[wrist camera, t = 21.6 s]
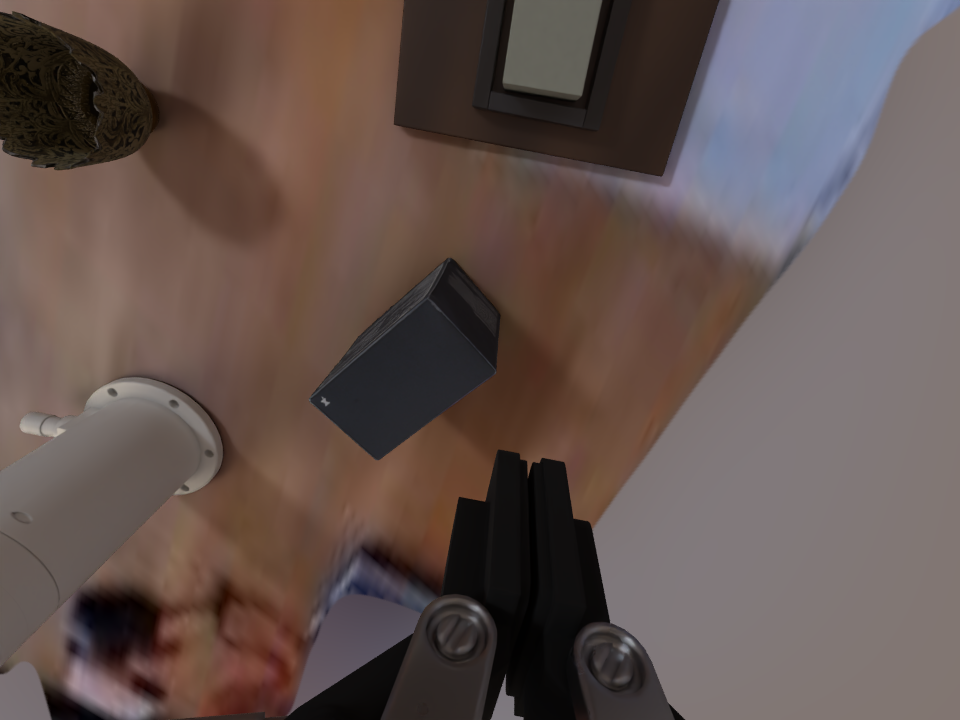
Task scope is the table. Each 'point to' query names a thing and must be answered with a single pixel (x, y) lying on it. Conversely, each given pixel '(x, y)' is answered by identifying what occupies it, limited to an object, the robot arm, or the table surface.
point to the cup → (67, 98)
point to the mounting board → (544, 121)
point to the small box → (413, 362)
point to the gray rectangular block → (550, 47)
